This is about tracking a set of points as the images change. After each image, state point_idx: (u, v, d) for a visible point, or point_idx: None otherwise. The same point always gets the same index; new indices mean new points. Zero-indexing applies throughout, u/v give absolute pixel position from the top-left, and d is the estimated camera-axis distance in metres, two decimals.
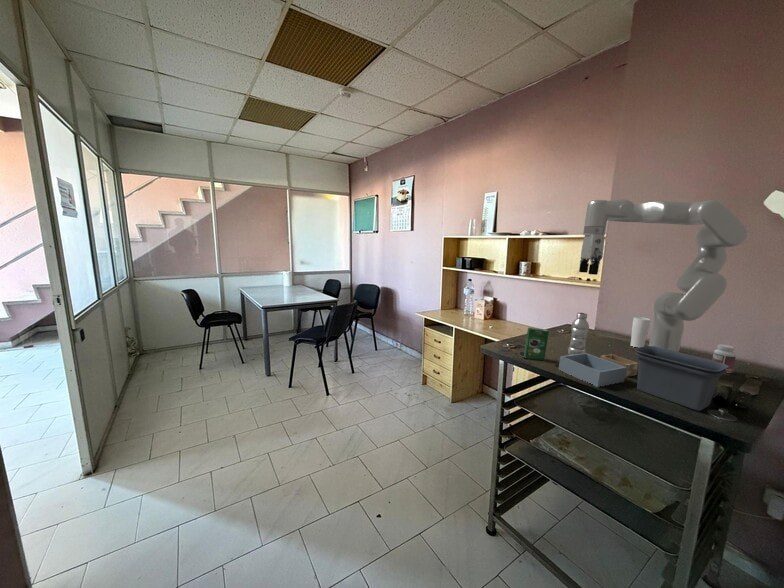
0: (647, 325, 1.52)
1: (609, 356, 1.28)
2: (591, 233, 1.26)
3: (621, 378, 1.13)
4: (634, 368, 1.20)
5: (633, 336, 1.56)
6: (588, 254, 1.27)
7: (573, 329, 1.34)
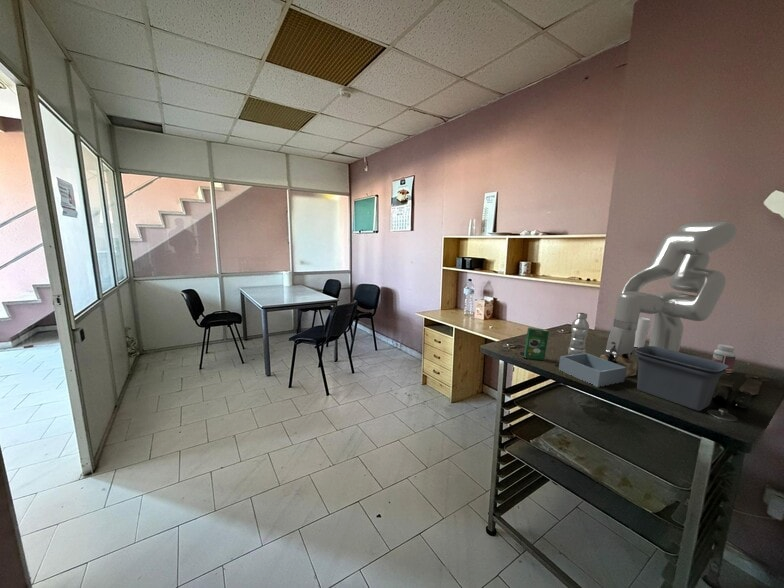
0: (647, 325, 1.52)
1: None
2: None
3: (621, 378, 1.13)
4: (634, 367, 1.20)
5: None
6: (632, 348, 1.22)
7: (573, 329, 1.34)
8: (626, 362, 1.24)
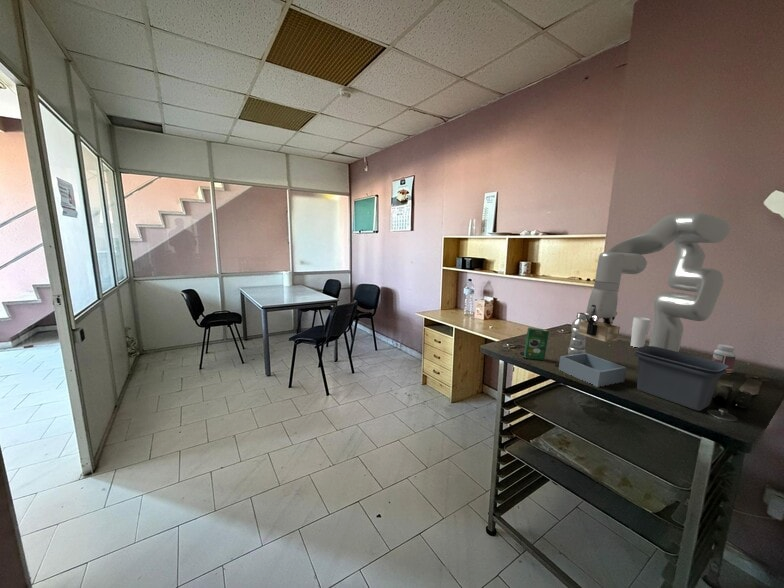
0: (647, 325, 1.52)
1: None
2: None
3: (621, 378, 1.13)
4: (615, 332, 1.12)
5: (633, 336, 1.56)
6: (613, 312, 1.14)
7: (573, 329, 1.34)
8: None
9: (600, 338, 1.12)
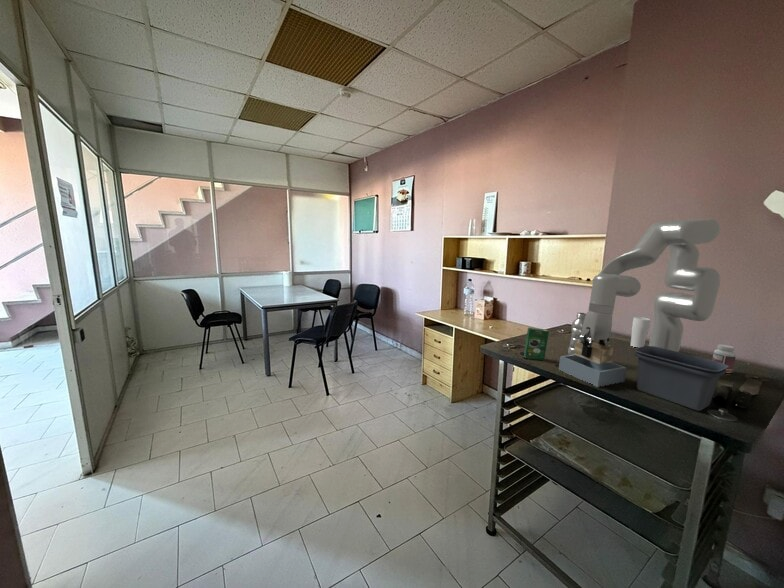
0: (647, 325, 1.52)
1: None
2: None
3: (621, 378, 1.13)
4: (610, 354, 1.13)
5: (633, 336, 1.56)
6: (608, 334, 1.15)
7: (573, 329, 1.34)
8: (602, 349, 1.17)
9: (595, 360, 1.13)
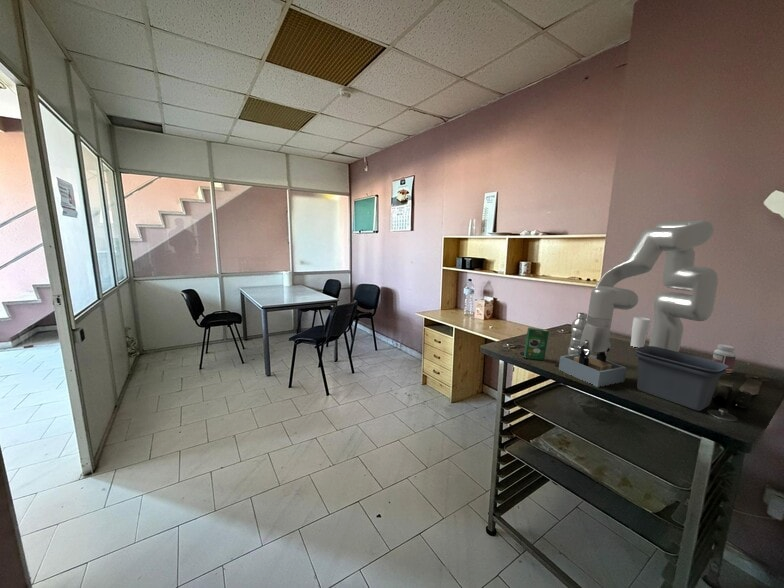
0: (647, 325, 1.52)
1: None
2: None
3: (621, 378, 1.13)
4: None
5: (633, 336, 1.56)
6: (606, 347, 1.16)
7: (573, 329, 1.34)
8: (600, 364, 1.18)
9: None
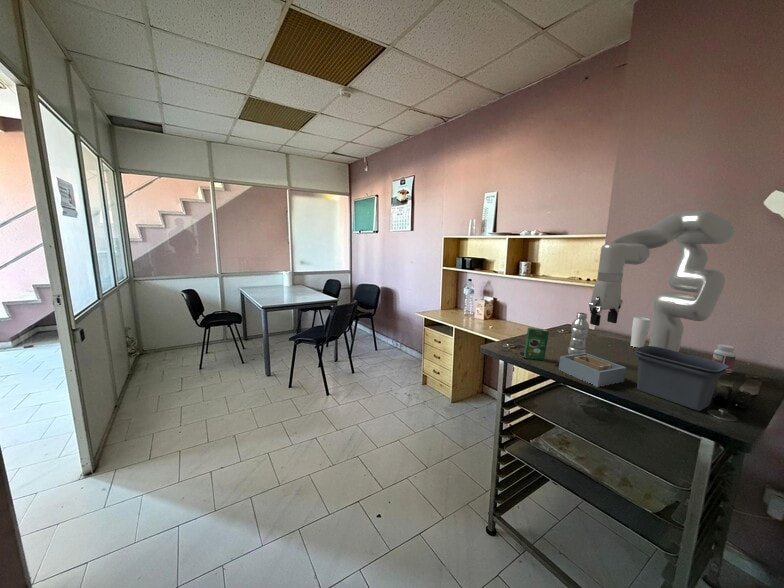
0: (647, 325, 1.52)
1: (583, 357, 1.22)
2: None
3: (621, 378, 1.13)
4: None
5: (633, 336, 1.56)
6: (618, 303, 1.15)
7: (573, 329, 1.34)
8: (600, 364, 1.18)
9: None
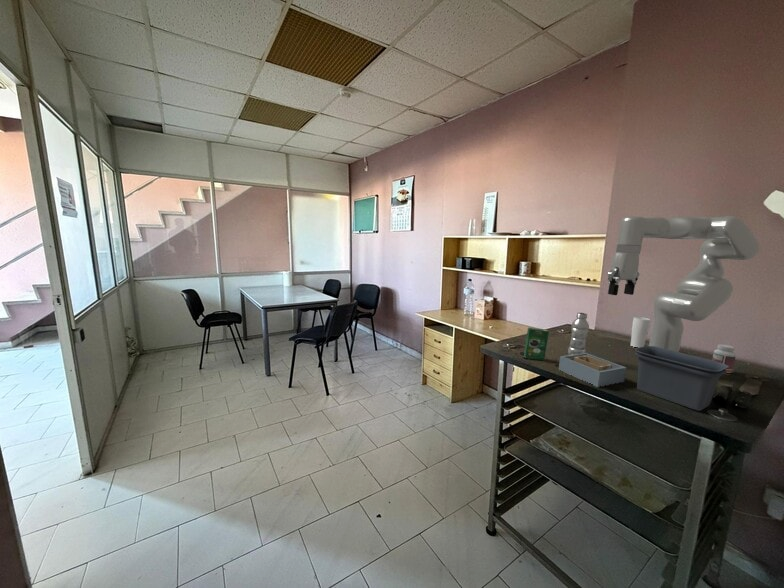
0: (647, 325, 1.52)
1: (583, 357, 1.22)
2: None
3: (621, 378, 1.13)
4: None
5: (633, 336, 1.56)
6: (635, 275, 1.20)
7: (573, 329, 1.34)
8: (600, 364, 1.18)
9: None
